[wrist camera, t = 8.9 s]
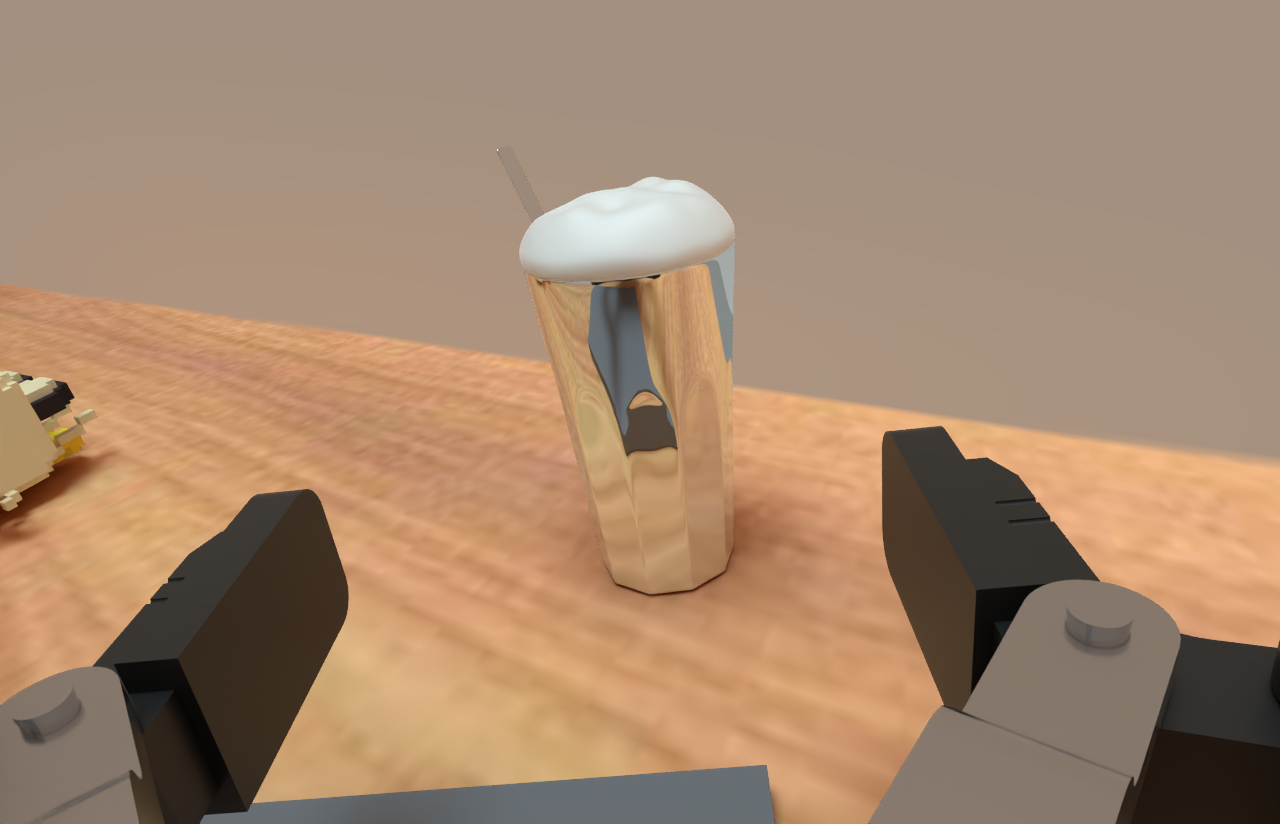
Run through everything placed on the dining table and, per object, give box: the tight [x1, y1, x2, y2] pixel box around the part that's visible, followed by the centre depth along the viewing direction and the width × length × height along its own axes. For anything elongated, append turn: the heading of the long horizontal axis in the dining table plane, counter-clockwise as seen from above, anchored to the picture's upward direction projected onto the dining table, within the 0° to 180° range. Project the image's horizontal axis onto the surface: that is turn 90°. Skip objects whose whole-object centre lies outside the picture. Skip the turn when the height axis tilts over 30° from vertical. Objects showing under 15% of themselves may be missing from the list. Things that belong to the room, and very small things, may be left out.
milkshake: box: [497, 146, 735, 595], centre depth 19 cm, size 4×5×10 cm
